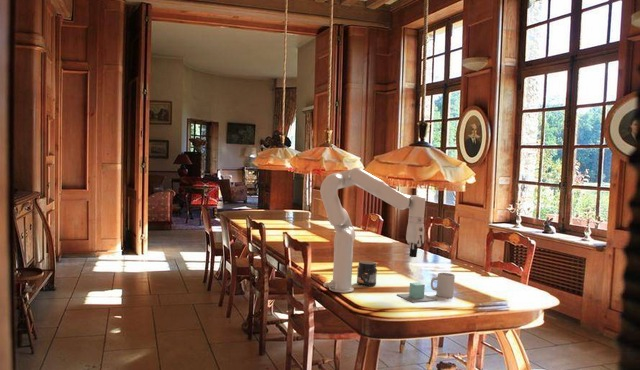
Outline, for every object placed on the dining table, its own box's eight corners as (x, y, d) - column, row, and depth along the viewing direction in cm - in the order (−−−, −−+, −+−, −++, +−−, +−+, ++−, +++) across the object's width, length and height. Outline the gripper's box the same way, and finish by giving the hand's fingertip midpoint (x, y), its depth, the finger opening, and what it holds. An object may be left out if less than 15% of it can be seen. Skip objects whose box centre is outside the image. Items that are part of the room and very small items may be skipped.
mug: (450, 293, 277) (451, 272, 276) (456, 298, 268) (457, 276, 268) (427, 293, 276) (428, 272, 275) (432, 297, 267) (434, 275, 267)
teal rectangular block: (415, 298, 261) (415, 285, 261) (409, 296, 266) (409, 282, 266) (423, 298, 263) (424, 284, 263) (417, 295, 268) (418, 282, 268)
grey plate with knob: (412, 302, 255) (413, 290, 255) (396, 295, 268) (397, 283, 268) (436, 300, 261) (437, 288, 261) (420, 293, 274) (420, 281, 274)
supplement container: (353, 282, 291) (354, 260, 291) (370, 282, 295) (372, 260, 294) (361, 287, 281) (362, 264, 281) (379, 286, 285) (380, 264, 285)
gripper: (431, 222, 260) (427, 259, 261) (414, 218, 274) (411, 253, 275) (418, 222, 257) (414, 260, 258) (401, 218, 271) (398, 254, 272)
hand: (412, 256), depth 266 cm, fingers closed
